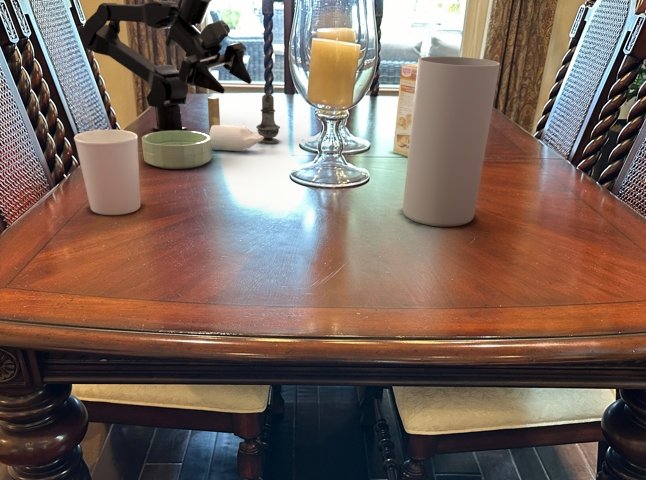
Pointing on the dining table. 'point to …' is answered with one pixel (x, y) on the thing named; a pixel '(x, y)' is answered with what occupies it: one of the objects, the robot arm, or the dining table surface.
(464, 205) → the cylinder vase
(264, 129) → the salt shaker
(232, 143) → the white milk carton
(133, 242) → the dining table surface
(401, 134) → the coffeecake box
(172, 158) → the bowl
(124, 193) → the white cup
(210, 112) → the stick
